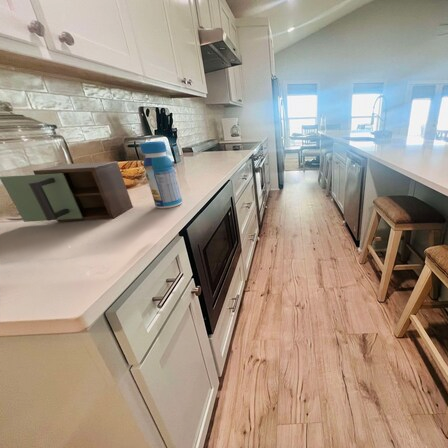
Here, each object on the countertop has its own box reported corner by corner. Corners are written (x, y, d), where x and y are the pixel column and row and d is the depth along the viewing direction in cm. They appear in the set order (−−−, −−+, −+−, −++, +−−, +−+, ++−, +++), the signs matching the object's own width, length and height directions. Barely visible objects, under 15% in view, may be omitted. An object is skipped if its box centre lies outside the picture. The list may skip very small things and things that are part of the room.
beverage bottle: (177, 208, 77) (159, 142, 69) (150, 210, 77) (129, 144, 68) (186, 200, 85) (172, 140, 76) (162, 201, 84) (145, 141, 76)
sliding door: (1, 230, 63) (-28, 182, 58) (26, 221, 69) (1, 176, 64) (64, 226, 64) (40, 178, 59) (83, 217, 70) (63, 173, 65)
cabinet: (57, 221, 70) (32, 170, 64) (83, 210, 80) (63, 164, 73) (113, 218, 71) (93, 167, 65) (133, 207, 80) (117, 161, 74)
